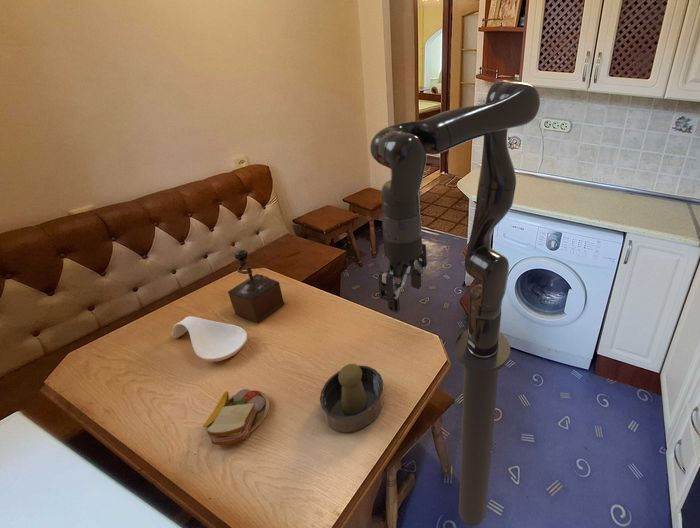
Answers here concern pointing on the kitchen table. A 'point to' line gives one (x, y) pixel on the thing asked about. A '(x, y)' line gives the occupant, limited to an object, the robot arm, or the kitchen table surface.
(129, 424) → the kitchen table surface
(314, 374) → the kitchen table surface
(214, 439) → the toy sandwich meal
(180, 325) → the spoon rest
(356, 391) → the cork
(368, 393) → the dark grey bowl
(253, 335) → the kitchen table surface
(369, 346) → the kitchen table surface
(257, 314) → the dark brown coffee grinder
